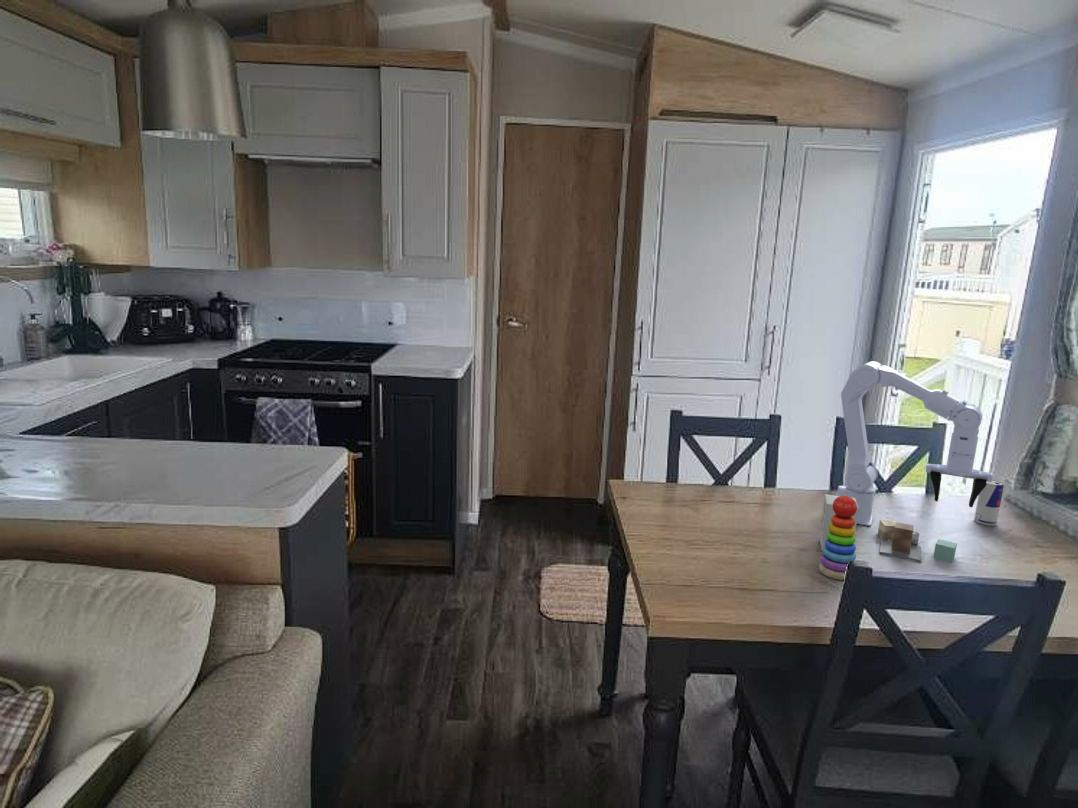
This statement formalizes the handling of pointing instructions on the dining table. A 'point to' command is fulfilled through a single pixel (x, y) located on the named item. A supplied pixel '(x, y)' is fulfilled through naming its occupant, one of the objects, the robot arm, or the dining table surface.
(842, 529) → the stacking toy
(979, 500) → the energy drink
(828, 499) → the supplement box
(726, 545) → the dining table surface
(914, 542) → the grey tin
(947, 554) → the teal painted block
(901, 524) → the walnut block
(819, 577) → the dining table surface
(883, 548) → the slate coaster
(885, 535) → the birch block
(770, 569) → the dining table surface
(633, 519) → the dining table surface
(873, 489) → the robot arm
